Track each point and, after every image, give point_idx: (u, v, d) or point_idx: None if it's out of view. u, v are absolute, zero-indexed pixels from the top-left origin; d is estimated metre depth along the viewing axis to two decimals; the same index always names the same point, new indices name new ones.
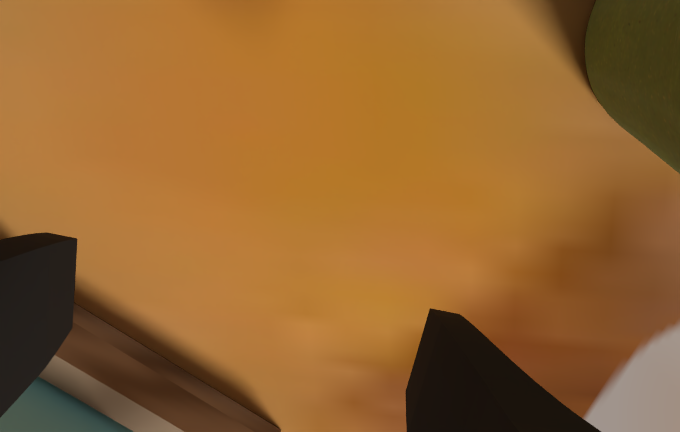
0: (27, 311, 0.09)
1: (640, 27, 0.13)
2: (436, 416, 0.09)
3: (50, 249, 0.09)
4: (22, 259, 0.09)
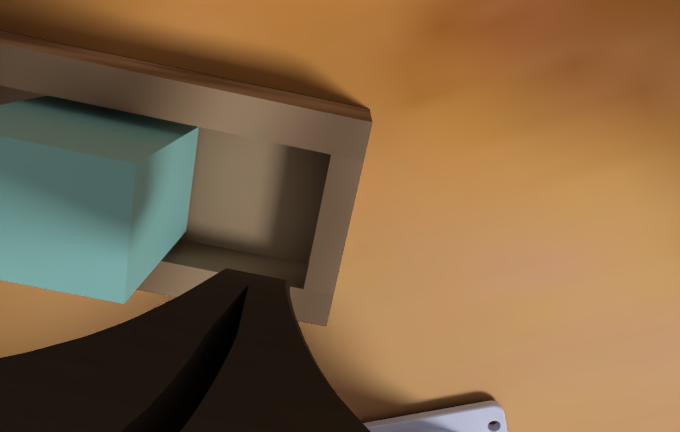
0: (231, 350, 0.09)
1: None
2: None
3: (248, 288, 0.10)
4: (237, 301, 0.09)
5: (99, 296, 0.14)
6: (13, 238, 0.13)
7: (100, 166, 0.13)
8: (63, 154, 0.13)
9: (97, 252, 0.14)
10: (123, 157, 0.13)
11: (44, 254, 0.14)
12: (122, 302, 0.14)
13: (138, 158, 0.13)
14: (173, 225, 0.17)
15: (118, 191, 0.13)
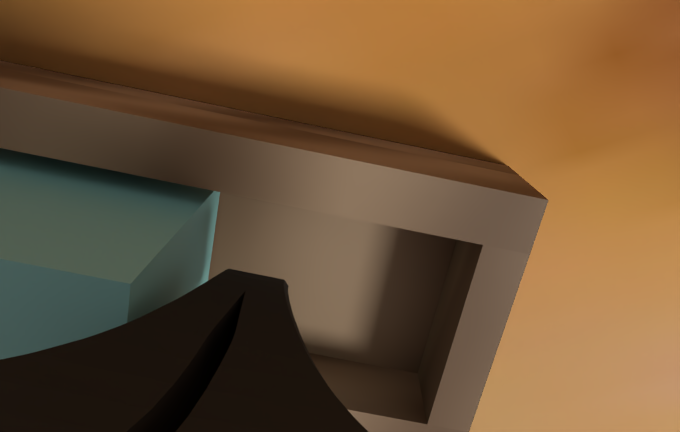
0: None
1: None
2: None
3: None
4: (239, 301, 0.09)
5: None
6: None
7: (70, 287, 0.08)
8: (7, 269, 0.08)
9: None
10: (108, 269, 0.08)
11: None
12: None
13: (134, 267, 0.08)
14: None
15: (101, 325, 0.08)
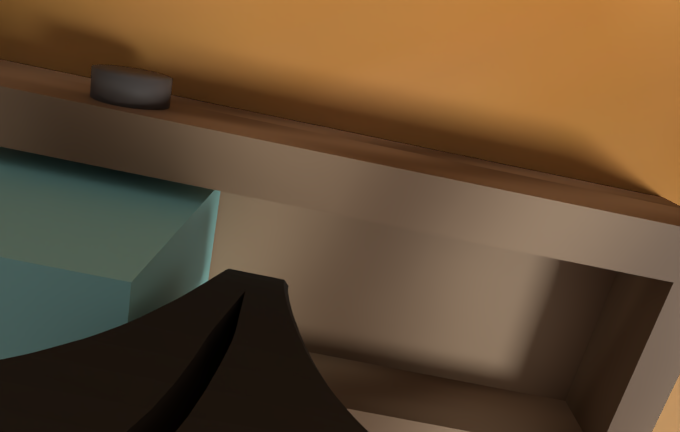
0: None
1: None
2: None
3: None
4: (239, 301, 0.09)
5: None
6: None
7: (70, 287, 0.08)
8: (9, 267, 0.08)
9: None
10: (109, 267, 0.08)
11: None
12: None
13: (134, 266, 0.08)
14: None
15: (102, 324, 0.08)
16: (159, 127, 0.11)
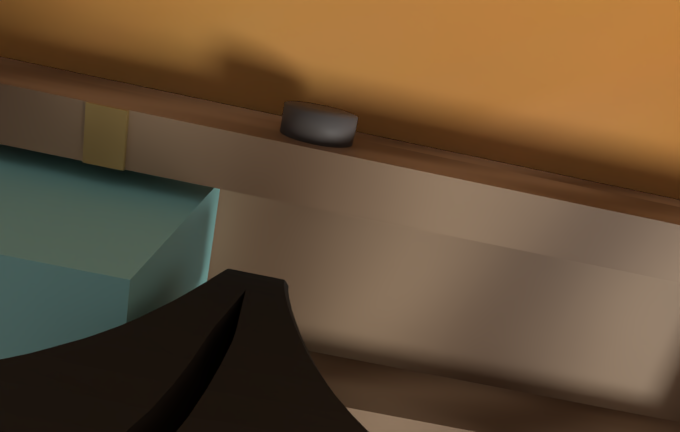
0: None
1: None
2: None
3: None
4: (239, 301, 0.09)
5: None
6: None
7: (69, 283, 0.08)
8: (7, 265, 0.08)
9: None
10: (108, 264, 0.08)
11: None
12: None
13: (133, 264, 0.08)
14: None
15: (101, 321, 0.08)
16: (362, 167, 0.11)
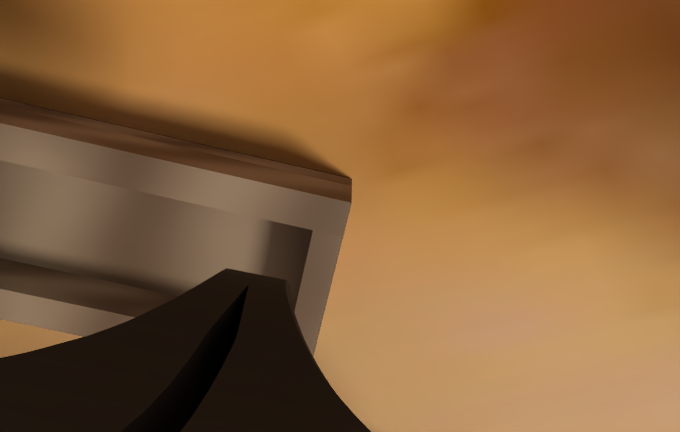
0: (231, 350, 0.09)
1: None
2: None
3: (248, 288, 0.10)
4: (237, 301, 0.09)
5: None
6: None
7: None
8: None
9: None
10: None
11: None
12: None
13: None
14: None
15: None
16: None
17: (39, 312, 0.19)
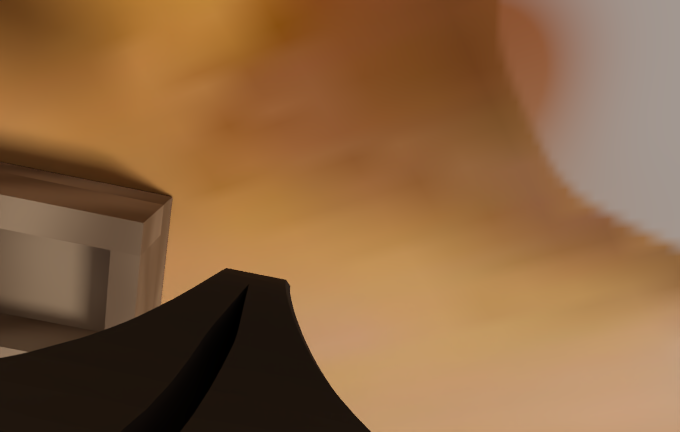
0: (231, 350, 0.09)
1: None
2: None
3: (248, 288, 0.10)
4: (237, 301, 0.09)
5: None
6: None
7: None
8: None
9: None
10: None
11: None
12: None
13: None
14: None
15: None
16: None
17: None
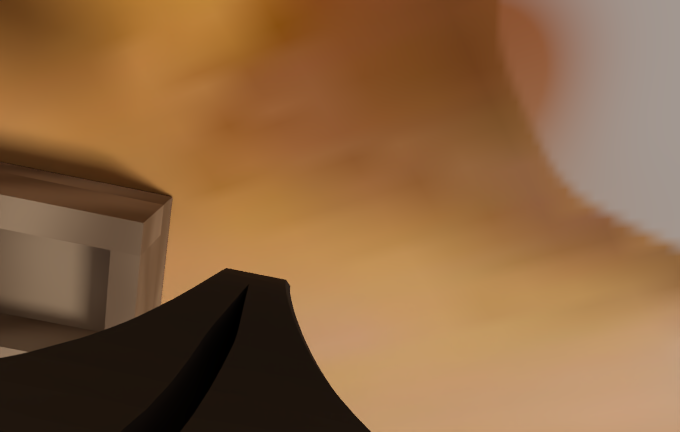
0: (231, 350, 0.09)
1: None
2: None
3: (248, 288, 0.10)
4: (237, 301, 0.09)
5: None
6: None
7: None
8: None
9: None
10: None
11: None
12: None
13: None
14: None
15: None
16: None
17: None
